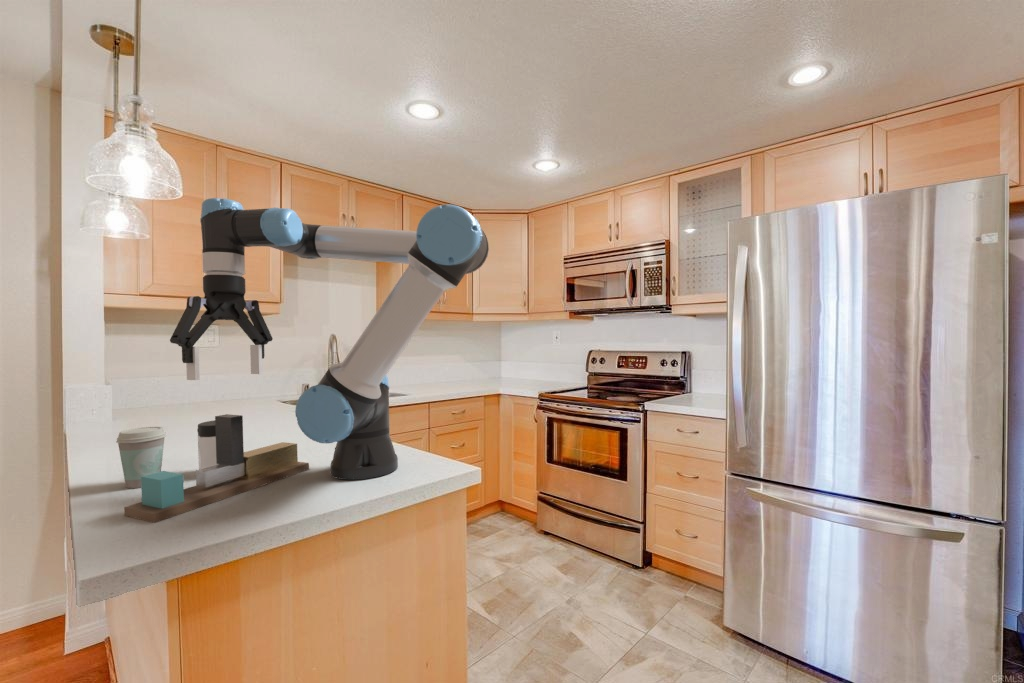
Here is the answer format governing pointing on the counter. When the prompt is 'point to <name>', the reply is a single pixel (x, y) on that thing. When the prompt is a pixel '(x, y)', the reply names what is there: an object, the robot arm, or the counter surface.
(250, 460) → the brass sleeve
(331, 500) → the counter surface
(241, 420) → the steel bar
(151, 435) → the coffee cup
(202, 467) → the jar
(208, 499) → the walnut board
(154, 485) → the teal socket
